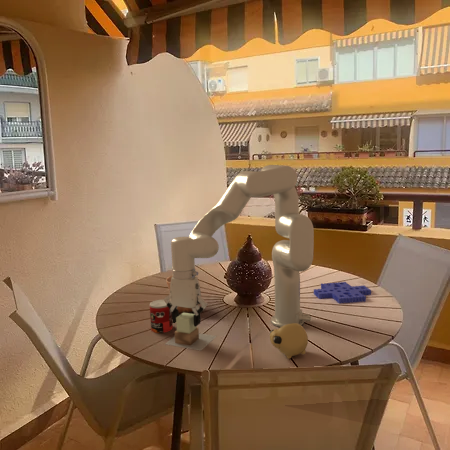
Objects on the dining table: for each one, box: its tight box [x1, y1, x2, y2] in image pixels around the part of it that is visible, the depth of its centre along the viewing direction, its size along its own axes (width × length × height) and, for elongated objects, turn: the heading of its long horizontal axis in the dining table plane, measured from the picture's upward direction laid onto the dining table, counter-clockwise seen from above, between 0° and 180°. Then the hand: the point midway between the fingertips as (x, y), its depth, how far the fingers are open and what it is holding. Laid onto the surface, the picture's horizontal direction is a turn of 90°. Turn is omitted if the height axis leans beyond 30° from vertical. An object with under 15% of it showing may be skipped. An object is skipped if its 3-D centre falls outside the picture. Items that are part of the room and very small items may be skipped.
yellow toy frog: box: [269, 323, 309, 360], centre depth 139 cm, size 10×12×11 cm
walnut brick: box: [174, 327, 200, 346], centre depth 150 cm, size 6×6×4 cm
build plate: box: [164, 332, 217, 351], centre depth 151 cm, size 14×12×1 cm
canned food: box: [149, 299, 174, 334], centre depth 161 cm, size 8×8×11 cm
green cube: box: [175, 312, 198, 334], centre depth 149 cm, size 5×5×5 cm
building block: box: [313, 281, 372, 305], centre depth 196 cm, size 25×24×3 cm
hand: (186, 323), depth 150 cm, fingers open, 7 cm apart
